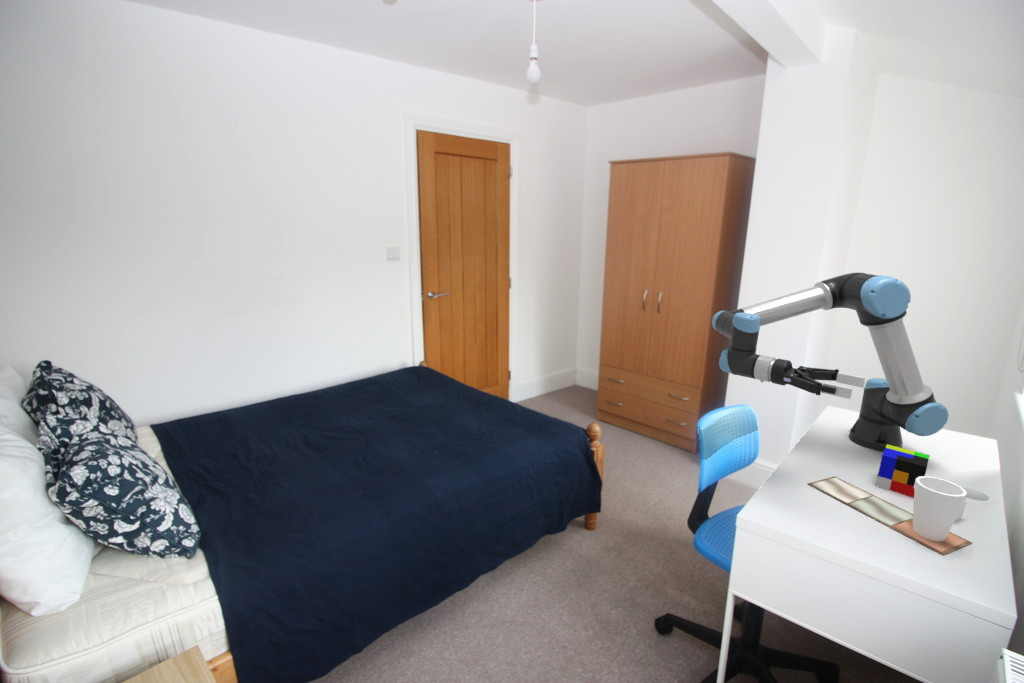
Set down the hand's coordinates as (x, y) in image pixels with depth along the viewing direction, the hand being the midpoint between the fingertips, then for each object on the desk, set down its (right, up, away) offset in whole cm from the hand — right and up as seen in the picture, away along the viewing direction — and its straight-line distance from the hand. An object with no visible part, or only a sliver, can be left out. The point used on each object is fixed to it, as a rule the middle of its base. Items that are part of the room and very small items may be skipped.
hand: (858, 388), depth 132 cm
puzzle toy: (+21, -30, +13) cm, 39 cm away
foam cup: (+10, -35, -10) cm, 38 cm away
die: (+22, -34, -2) cm, 40 cm away
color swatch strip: (+6, -33, 0) cm, 33 cm away
